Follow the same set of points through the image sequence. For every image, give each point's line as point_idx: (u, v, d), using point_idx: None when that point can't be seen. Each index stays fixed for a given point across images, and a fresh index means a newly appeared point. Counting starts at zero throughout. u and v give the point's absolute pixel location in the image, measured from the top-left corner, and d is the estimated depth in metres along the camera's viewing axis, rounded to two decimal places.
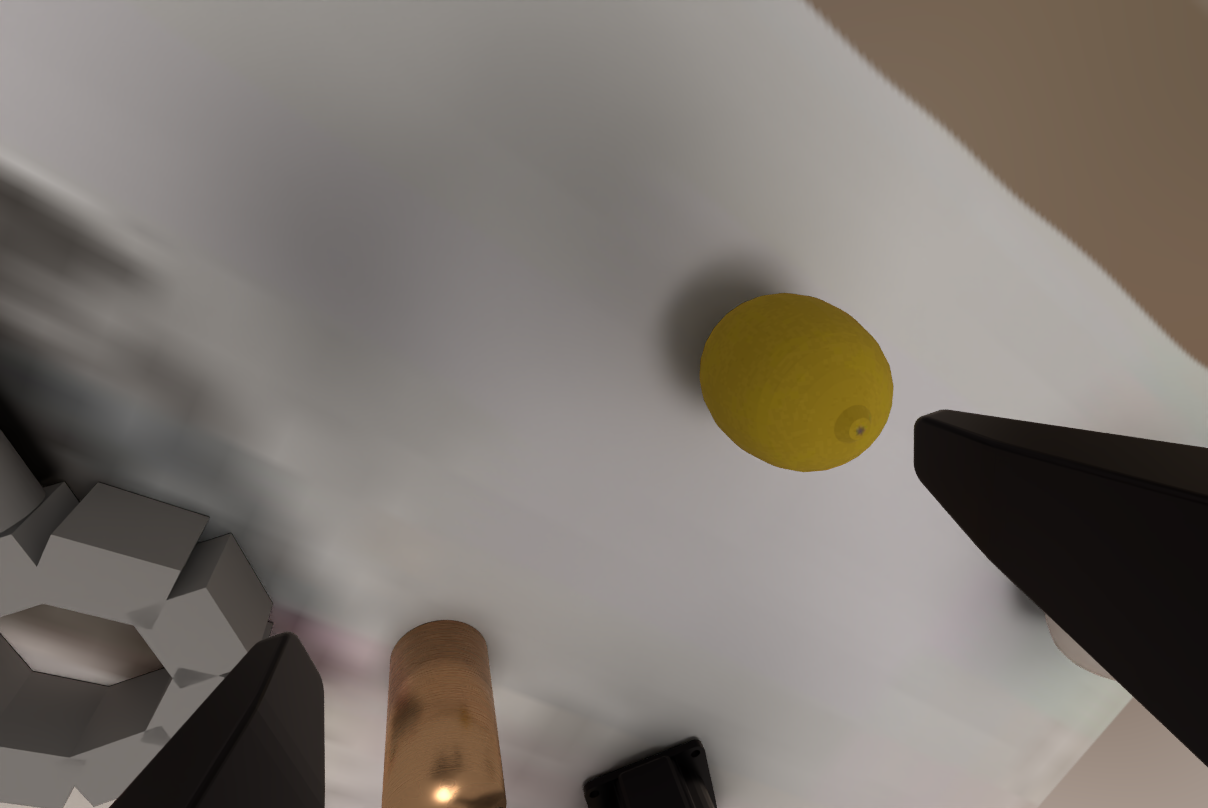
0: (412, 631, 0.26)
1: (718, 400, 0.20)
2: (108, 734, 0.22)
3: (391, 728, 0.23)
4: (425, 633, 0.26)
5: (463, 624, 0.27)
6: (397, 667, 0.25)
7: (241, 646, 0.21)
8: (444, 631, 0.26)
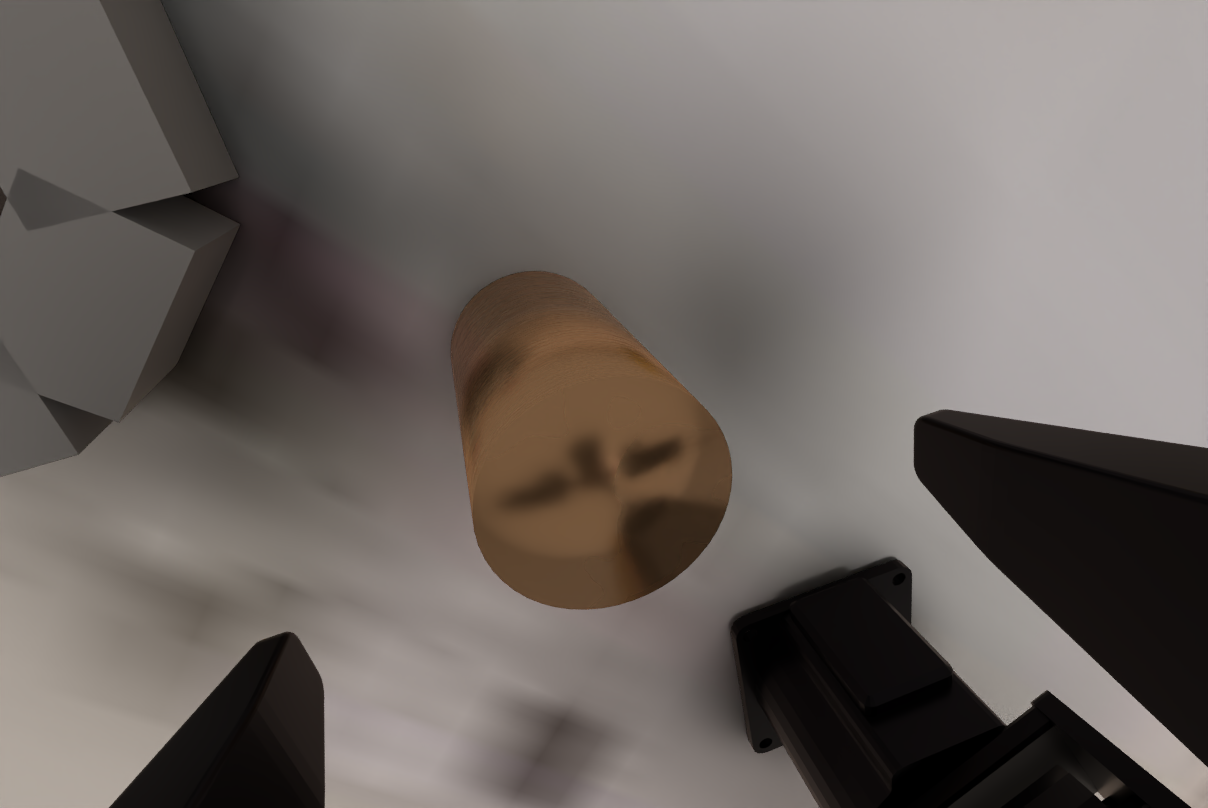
0: (492, 283, 0.15)
1: None
2: None
3: (474, 375, 0.11)
4: (517, 278, 0.14)
5: (578, 284, 0.15)
6: (471, 321, 0.14)
7: (161, 137, 0.10)
8: (550, 277, 0.14)
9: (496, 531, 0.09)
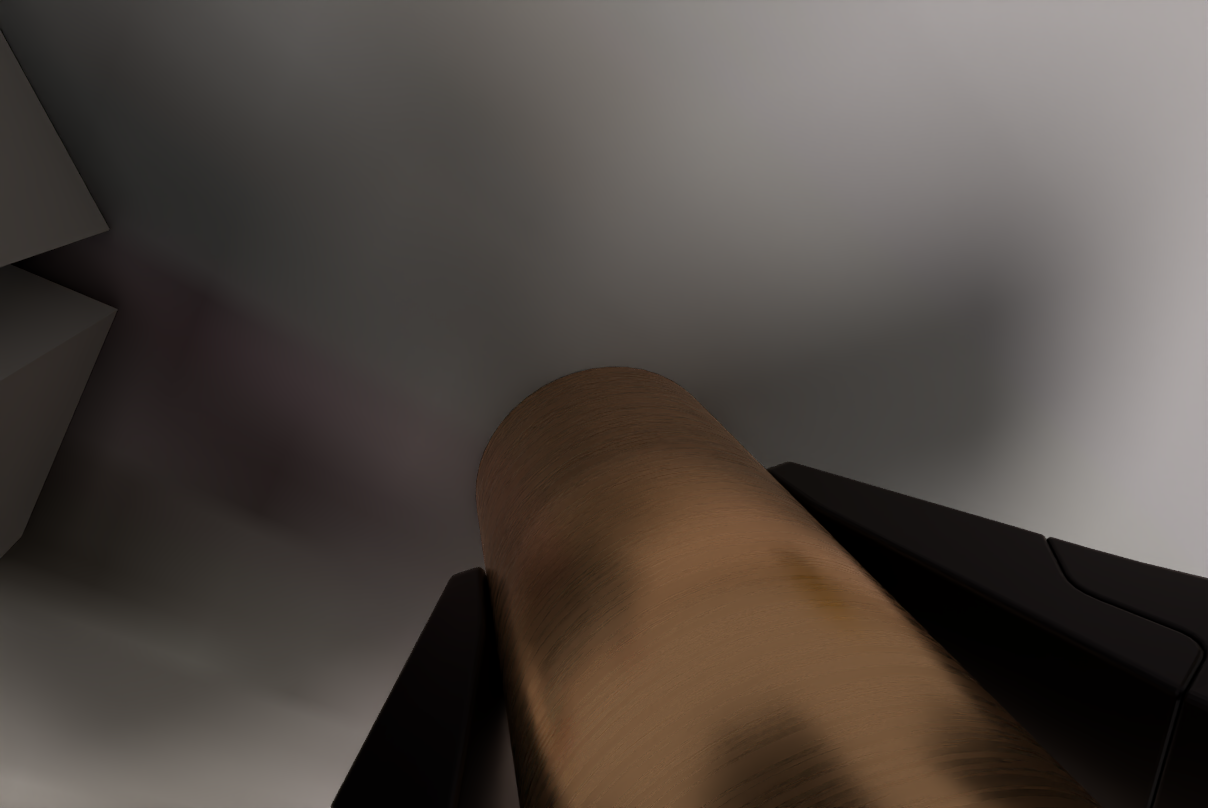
0: (544, 389, 0.09)
1: None
2: None
3: (539, 630, 0.06)
4: (586, 385, 0.09)
5: (676, 384, 0.10)
6: (515, 468, 0.08)
7: None
8: (640, 382, 0.09)
9: None
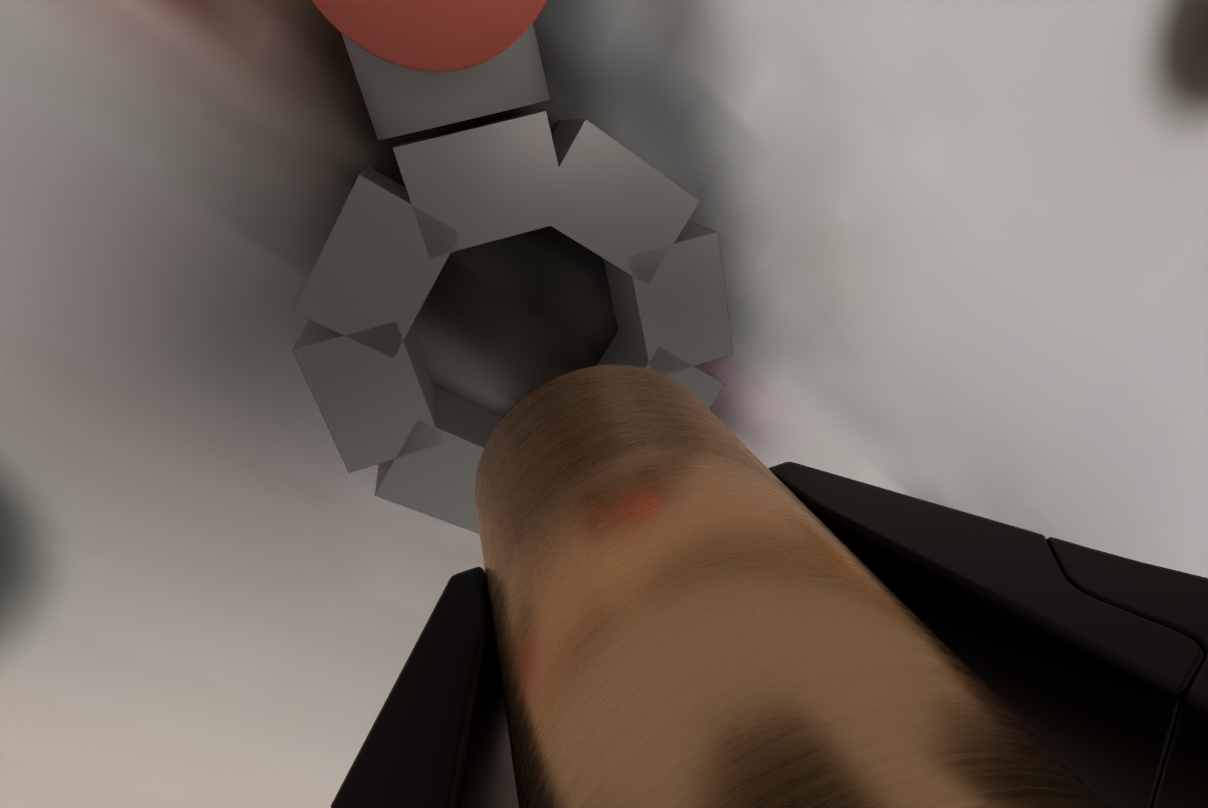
0: (543, 387, 0.09)
1: None
2: None
3: (538, 629, 0.06)
4: (586, 383, 0.09)
5: (676, 382, 0.10)
6: (514, 467, 0.08)
7: (728, 326, 0.17)
8: (640, 380, 0.09)
9: None
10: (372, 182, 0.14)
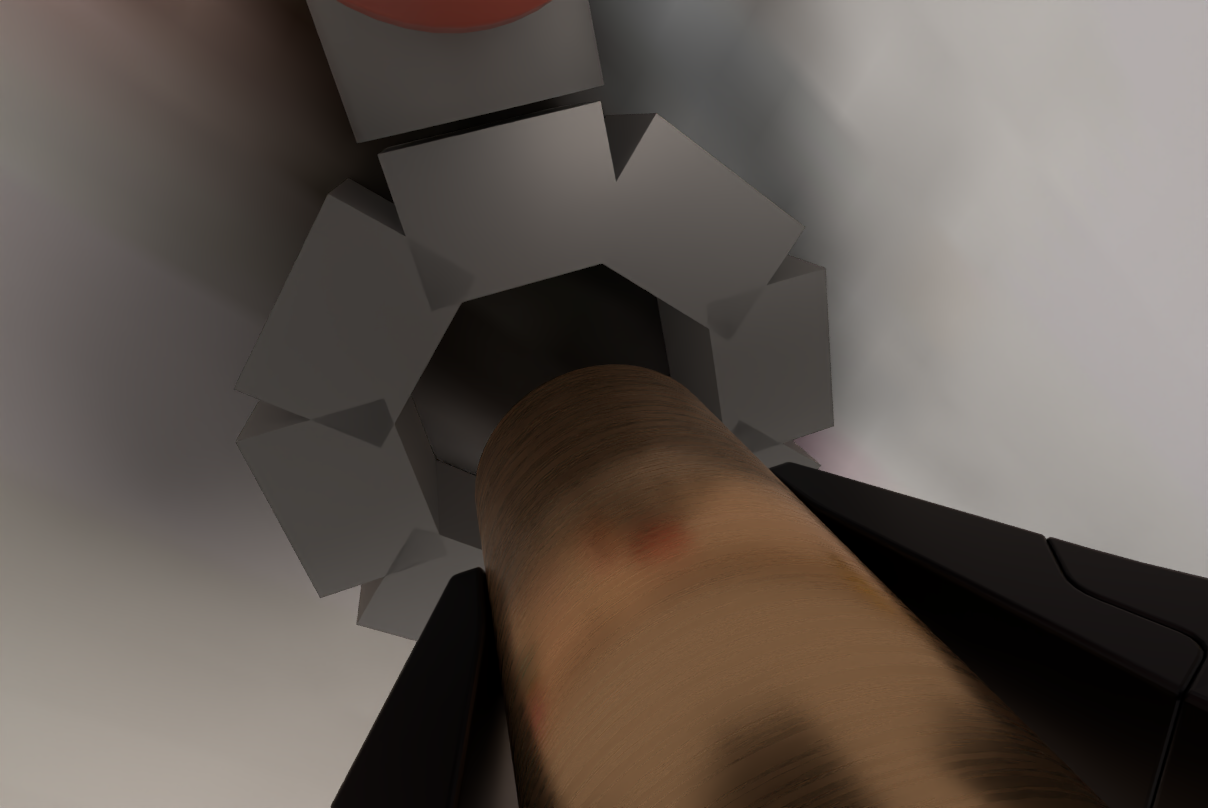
0: (543, 387, 0.09)
1: None
2: None
3: (538, 629, 0.06)
4: (586, 383, 0.09)
5: (677, 382, 0.10)
6: (515, 467, 0.08)
7: (829, 391, 0.13)
8: (640, 380, 0.09)
9: None
10: (348, 204, 0.09)
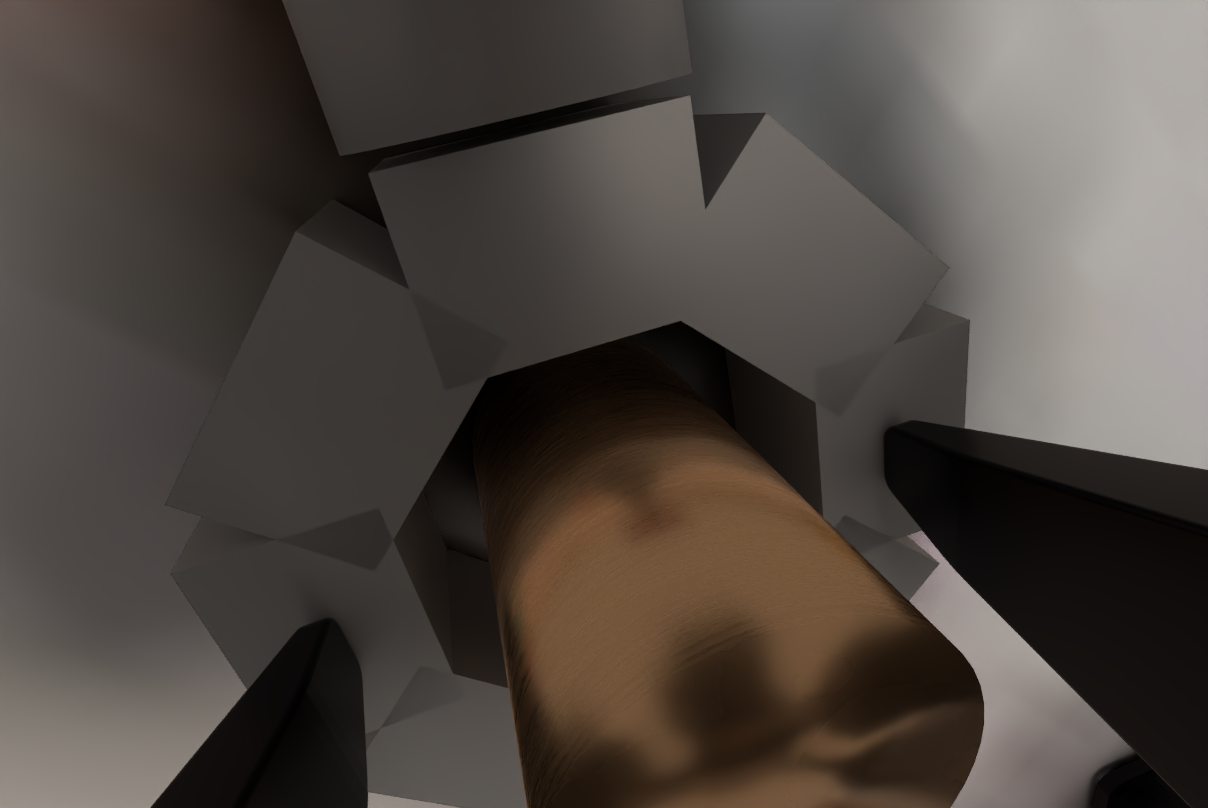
0: None
1: None
2: None
3: (521, 530, 0.07)
4: None
5: (649, 350, 0.11)
6: (505, 416, 0.09)
7: None
8: (615, 345, 0.10)
9: None
10: (325, 246, 0.07)
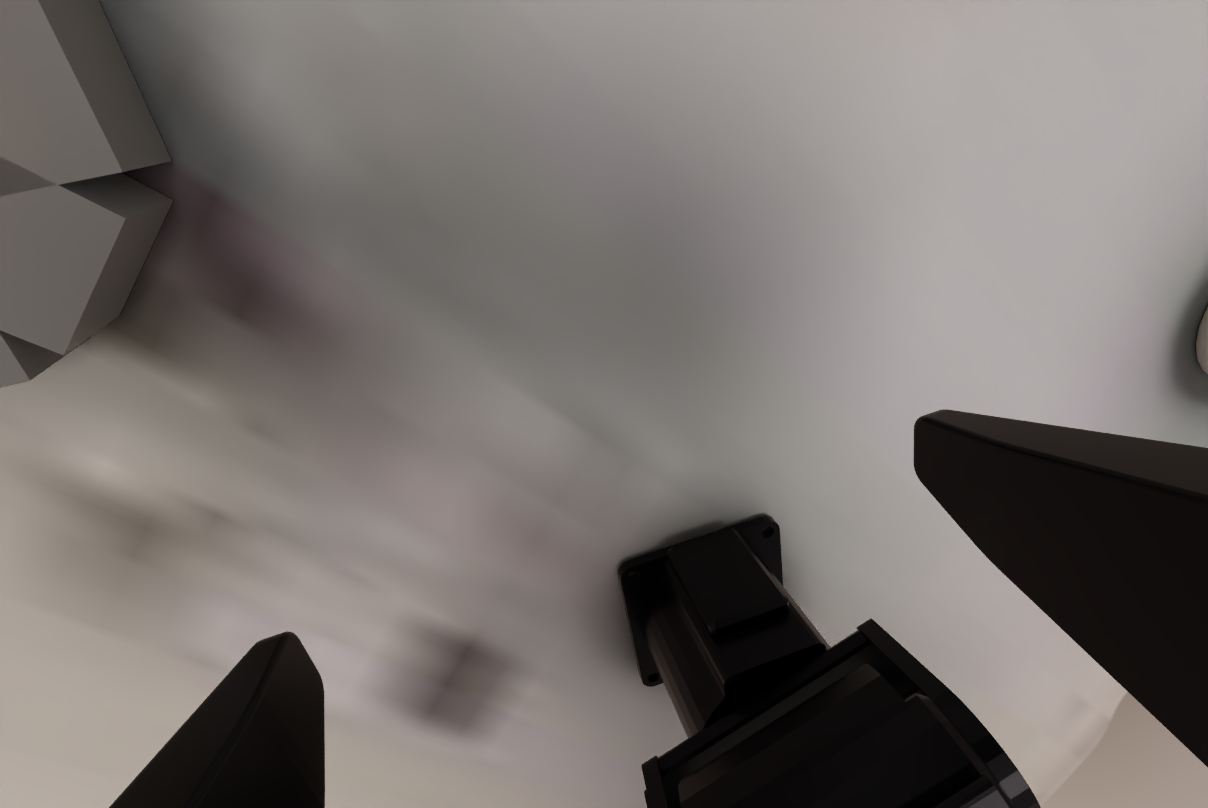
0: None
1: None
2: None
3: None
4: None
5: None
6: None
7: (97, 128, 0.12)
8: None
9: None
10: None
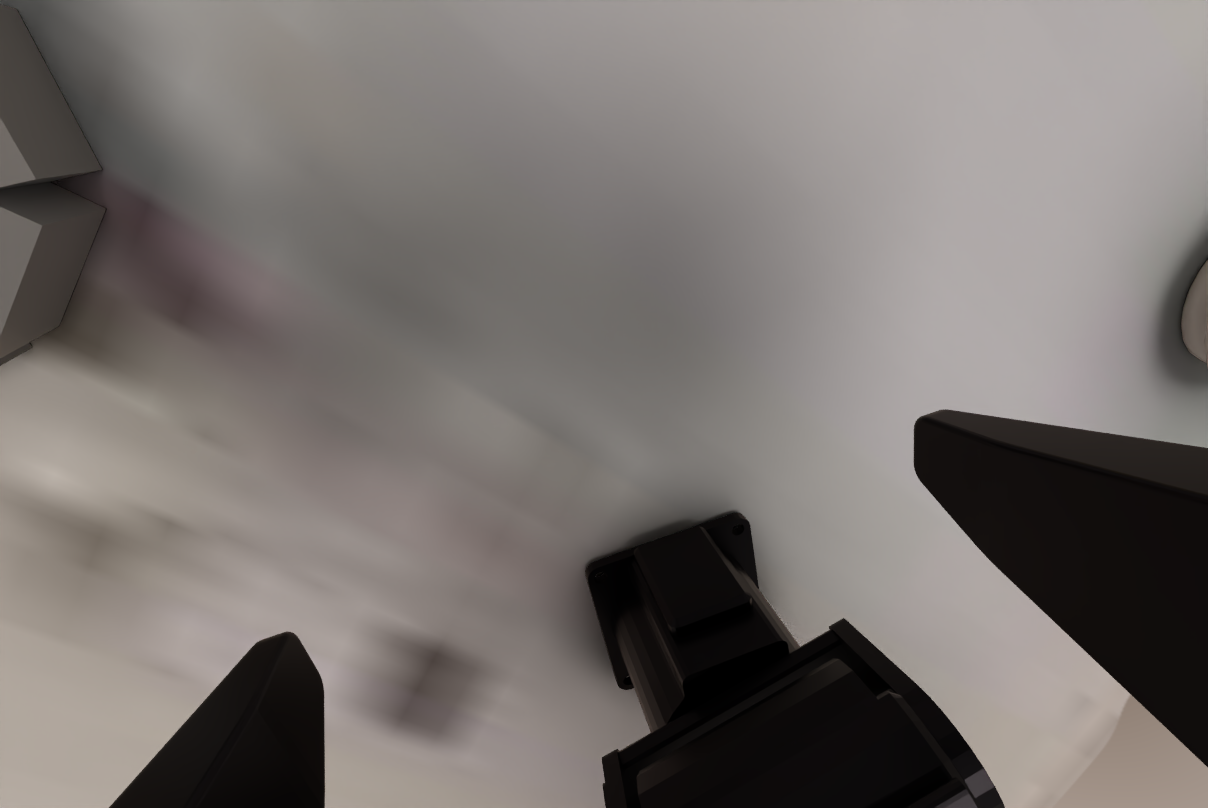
0: None
1: None
2: None
3: None
4: None
5: None
6: None
7: (7, 136, 0.12)
8: None
9: None
10: None
